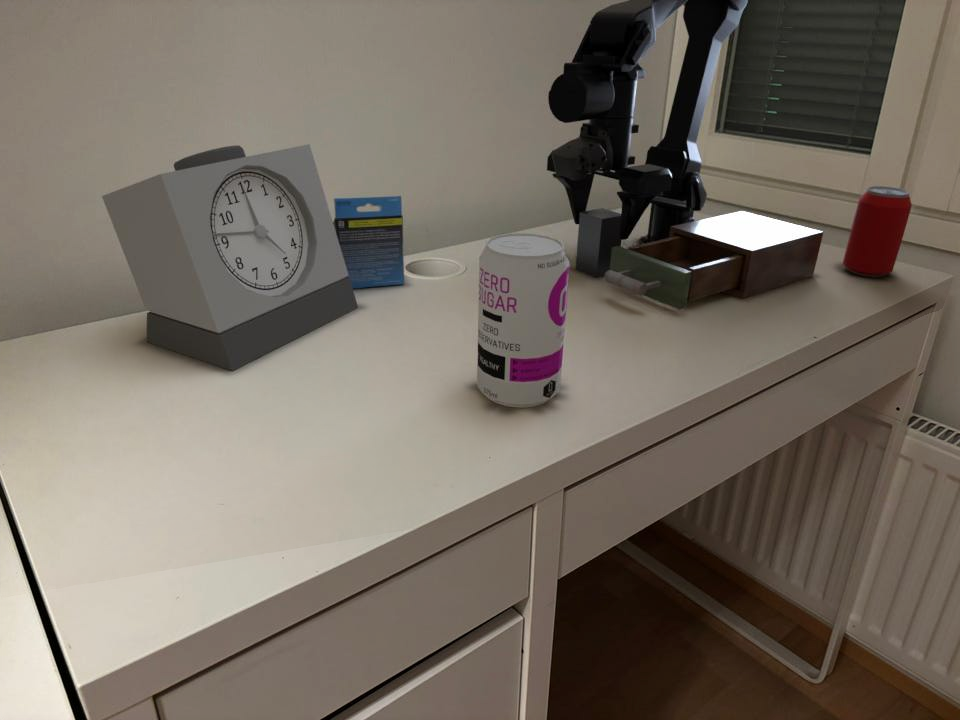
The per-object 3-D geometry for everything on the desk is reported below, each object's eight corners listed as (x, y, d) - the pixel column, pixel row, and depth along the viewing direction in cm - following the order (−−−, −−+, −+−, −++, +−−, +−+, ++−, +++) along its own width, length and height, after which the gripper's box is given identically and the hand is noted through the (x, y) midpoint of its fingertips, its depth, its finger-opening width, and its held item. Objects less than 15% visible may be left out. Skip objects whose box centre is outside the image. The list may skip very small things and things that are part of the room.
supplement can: (567, 378, 72) (578, 236, 66) (547, 417, 65) (558, 263, 59) (492, 366, 75) (496, 227, 68) (465, 402, 68) (466, 251, 61)
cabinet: (742, 298, 94) (752, 250, 91) (664, 270, 104) (670, 226, 101) (813, 275, 103) (823, 231, 100) (734, 251, 112) (742, 210, 109)
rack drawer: (655, 317, 85) (661, 279, 83) (585, 287, 94) (588, 252, 92) (755, 286, 96) (762, 252, 93) (683, 261, 105) (688, 229, 102)
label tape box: (400, 276, 99) (397, 188, 94) (405, 286, 96) (402, 195, 90) (336, 280, 97) (329, 191, 92) (339, 291, 94) (332, 198, 88)
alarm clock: (232, 370, 73) (201, 171, 64) (132, 337, 80) (92, 152, 70) (358, 307, 89) (347, 140, 80) (266, 284, 96) (246, 128, 86)
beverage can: (880, 265, 108) (902, 186, 102) (899, 280, 102) (924, 197, 96) (834, 263, 108) (854, 184, 103) (850, 277, 102) (872, 194, 97)
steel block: (575, 269, 103) (579, 212, 99) (596, 264, 106) (602, 207, 102) (596, 277, 100) (601, 219, 96) (618, 272, 102) (624, 214, 99)
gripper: (519, 111, 96) (515, 224, 103) (619, 130, 82) (606, 258, 89) (580, 107, 102) (572, 213, 109) (682, 123, 88) (665, 244, 95)
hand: (600, 231), depth 100 cm, fingers open, 9 cm apart
